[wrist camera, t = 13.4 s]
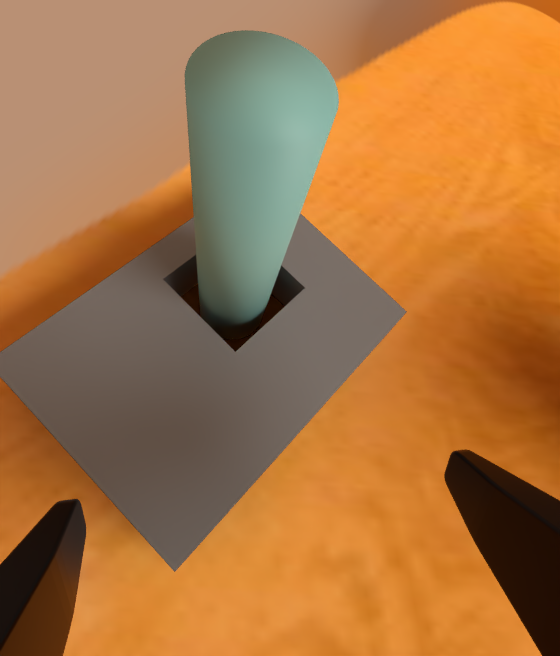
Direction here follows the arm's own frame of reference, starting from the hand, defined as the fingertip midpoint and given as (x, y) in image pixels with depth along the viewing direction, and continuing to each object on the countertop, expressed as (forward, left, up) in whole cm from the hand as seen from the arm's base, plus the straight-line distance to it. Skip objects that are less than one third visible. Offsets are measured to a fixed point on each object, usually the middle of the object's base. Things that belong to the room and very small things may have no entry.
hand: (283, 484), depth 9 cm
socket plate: (+5, +3, -9) cm, 10 cm away
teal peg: (+8, +3, -8) cm, 12 cm away
